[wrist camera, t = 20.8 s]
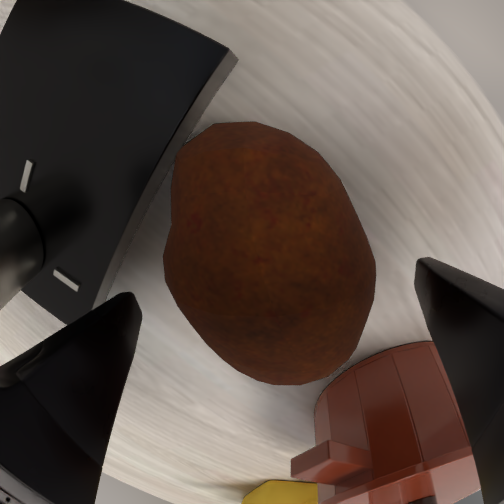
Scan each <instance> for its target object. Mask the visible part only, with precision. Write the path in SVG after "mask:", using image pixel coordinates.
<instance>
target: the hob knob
mask: <svg viewBox="0 0 504 504" xmlns="http://www.w3.org/2000/svg"><path fill="white" fill-rule="evenodd" d="M43 258H44V252H43V244H42V240H41V236H40V233H39V231H38V228H37V226H36V224H35V222H34V221H33V219H32V217H31V216H30V215H29V213H28V212H27V211H26V210H25V209H24V208H23V207H22V206H21V205H20V204H19V203H17V202H15V201H13V200H10V199H0V310H1V309H2V308H3V307H4V306H5V305H6V304H7V303H8V302H9V301H10V300H11V299H12V298H13V297H14V296H15V295H16V294H17V293H18V292H19V291H20V290H21V289H22V288H23V287H24V286H25V285H26V284H27V283H28V282H29V281H30V280H31V279H32V278H33V277H35V276H36V275H37V274H38V272H39V271H40V269H41V267H42V264H43Z"/></svg>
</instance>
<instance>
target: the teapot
mask: <svg viewBox="0 0 504 504" xmlns="http://www.w3.org/2000/svg"><path fill="white" fill-rule="evenodd" d="M242 504H318V488H317V483H305V482H292V481H279V480H270V481H267V482H266V483H264V484H262V485H261V486H259V487H258V488H256V489H255V490H253V491H252V492H250V493H249V494H248V495H246V496H245V497H244V499H243V501H242Z"/></svg>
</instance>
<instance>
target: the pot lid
mask: <svg viewBox="0 0 504 504" xmlns="http://www.w3.org/2000/svg"><path fill="white" fill-rule="evenodd" d="M471 449H472V448H471V446H468V447H465V448H462V449H459V450H456V451H453V452H450V453H447V454H444V455H441V456H438V457H435V458H433V459H430V460H427V461H424V462H421V463H419V464H416V465H413V466H410V467H407V468H405V469H402V470H399V471H396V472H393V473H391V474H388V475H385V476H383V477H380V478H377V479H374V480H372V481H369V482H366V483H364V484H361V485H358V486H356V487H353V488H351V489H348V490H346V491H343V492H341V493H339V494H336V495H334V496H332V497H330V498H328V499H326V500H324V501H322V502H321V503H319V504H453V503H455V502H457V501H459V500H461V499H463V498H465V497H467V496H469V495H470V494H472V493H474V492H476V491H477V490H479V489H480V488H481V486H480V482H479V477H478V473H477V469H476V465H475V461H474V457H473V454H472V450H471Z"/></svg>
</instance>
